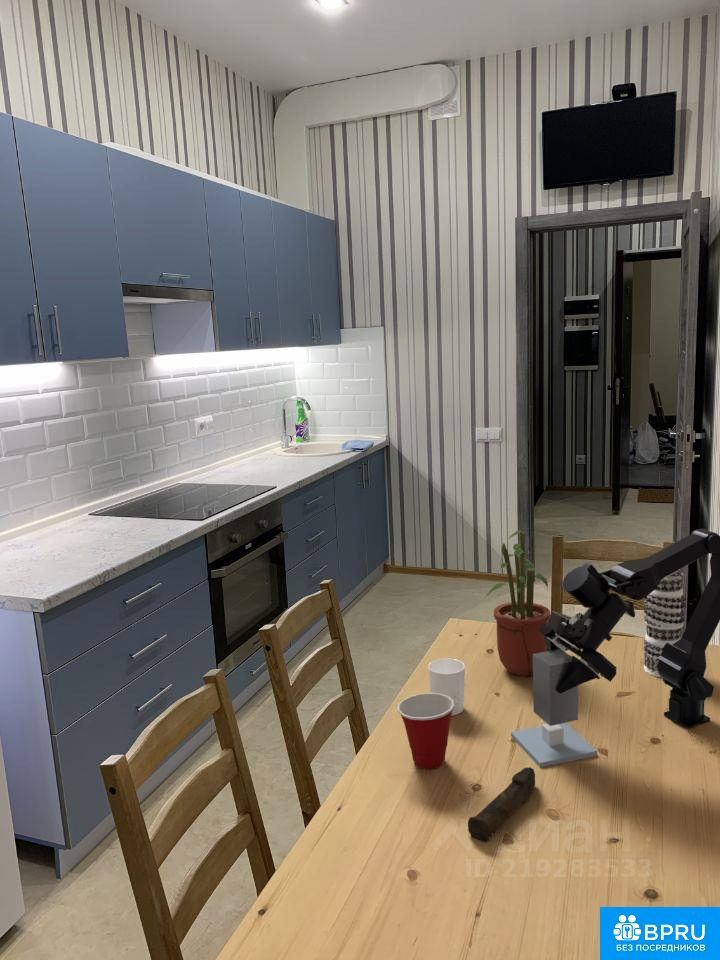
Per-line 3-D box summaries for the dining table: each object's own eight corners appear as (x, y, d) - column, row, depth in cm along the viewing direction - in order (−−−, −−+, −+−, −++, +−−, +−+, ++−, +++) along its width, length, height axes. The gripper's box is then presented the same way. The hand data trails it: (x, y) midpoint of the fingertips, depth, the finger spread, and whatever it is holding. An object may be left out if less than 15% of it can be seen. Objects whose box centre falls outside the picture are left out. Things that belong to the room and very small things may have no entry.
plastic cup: (418, 741, 152) (415, 685, 150) (466, 755, 145) (464, 697, 143) (388, 767, 143) (385, 708, 141) (438, 783, 137) (436, 722, 135)
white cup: (425, 714, 162) (423, 671, 160) (435, 698, 169) (434, 656, 168) (461, 720, 159) (459, 675, 157) (470, 703, 166) (468, 660, 165)
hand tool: (487, 847, 119) (487, 821, 119) (466, 837, 122) (466, 811, 121) (548, 792, 133) (548, 768, 132) (528, 784, 136) (528, 760, 135)
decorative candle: (637, 673, 176) (638, 570, 172) (647, 659, 183) (649, 560, 179) (678, 682, 171) (681, 576, 166) (687, 666, 178) (690, 564, 174)
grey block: (560, 705, 149) (559, 648, 147) (578, 719, 143) (577, 660, 141) (533, 711, 147) (532, 654, 145) (550, 726, 141) (549, 666, 139)
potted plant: (556, 681, 174) (555, 534, 168) (489, 684, 175) (485, 537, 168) (539, 650, 192) (538, 516, 185) (478, 653, 192) (475, 519, 186)
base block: (564, 728, 155) (564, 707, 154) (597, 758, 143) (597, 736, 143) (511, 738, 152) (510, 718, 151) (539, 770, 140) (539, 747, 140)
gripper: (546, 582, 151) (498, 644, 150) (602, 612, 133) (548, 682, 132) (580, 613, 154) (533, 674, 153) (639, 647, 137) (587, 715, 136)
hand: (548, 685), depth 144 cm, fingers closed on grey block, 6 cm apart
